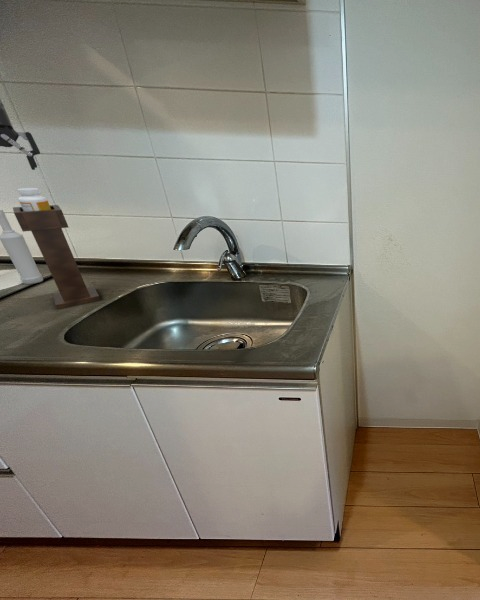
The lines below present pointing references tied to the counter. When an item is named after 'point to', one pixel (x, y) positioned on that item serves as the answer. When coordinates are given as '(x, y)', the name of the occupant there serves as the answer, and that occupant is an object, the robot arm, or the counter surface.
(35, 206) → the supplement bottle
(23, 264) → the bottle
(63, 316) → the counter surface
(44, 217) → the holder
